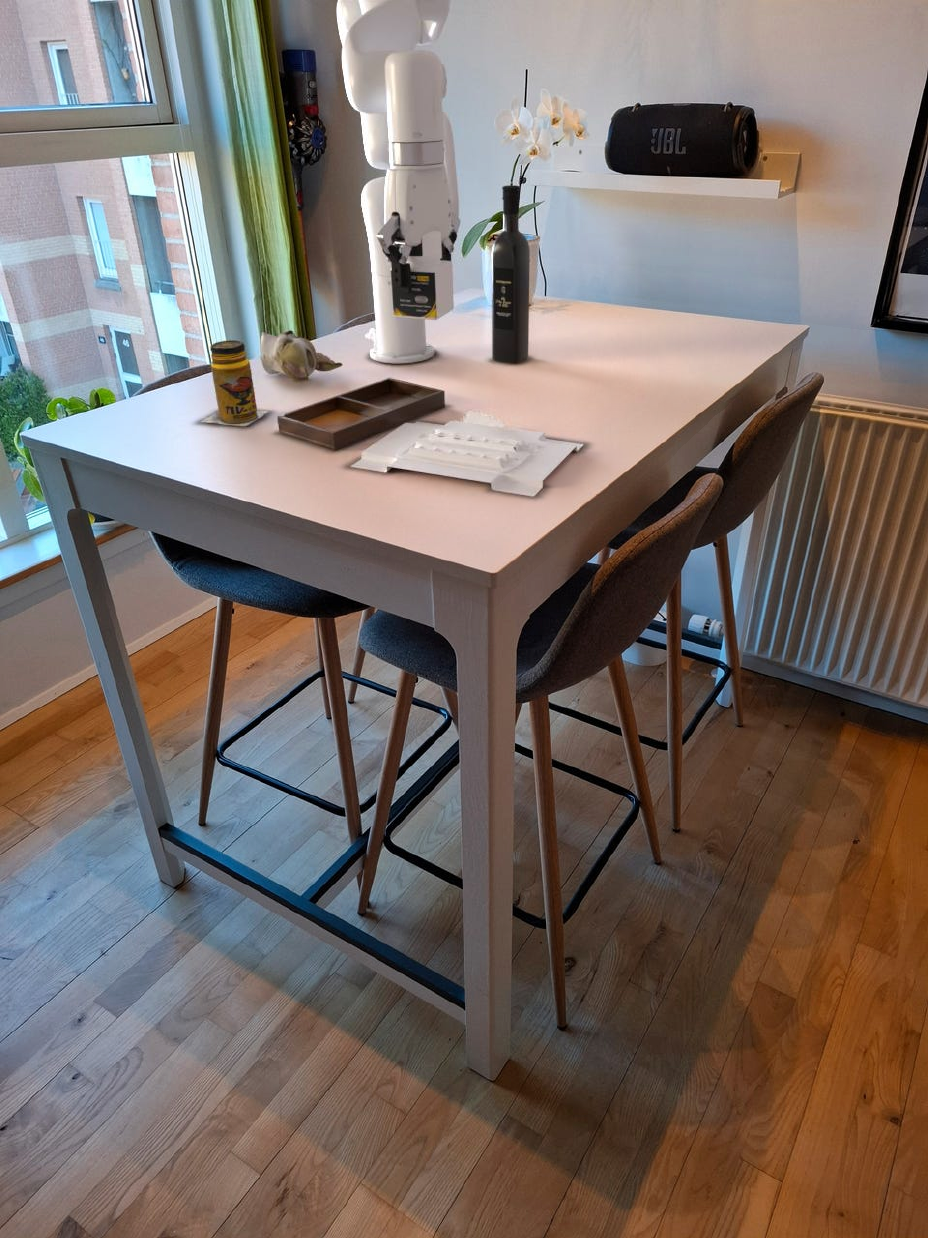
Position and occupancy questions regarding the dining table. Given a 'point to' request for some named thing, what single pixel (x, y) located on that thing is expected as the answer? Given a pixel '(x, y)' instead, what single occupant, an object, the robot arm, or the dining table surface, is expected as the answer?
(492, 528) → the dining table surface
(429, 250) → the medicine bottle
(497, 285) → the wine bottle
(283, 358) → the ceramic sculpture
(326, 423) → the dark wooden divided tray
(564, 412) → the dining table surface
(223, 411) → the condiment
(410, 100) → the robot arm
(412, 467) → the tray
